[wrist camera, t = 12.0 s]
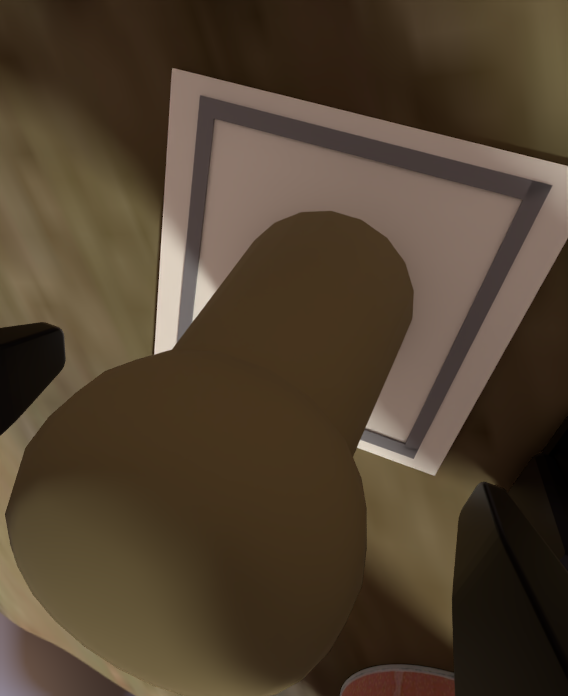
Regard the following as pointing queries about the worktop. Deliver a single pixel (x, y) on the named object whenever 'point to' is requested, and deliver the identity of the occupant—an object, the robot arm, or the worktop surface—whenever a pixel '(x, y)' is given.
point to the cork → (223, 472)
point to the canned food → (400, 681)
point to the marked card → (381, 214)
